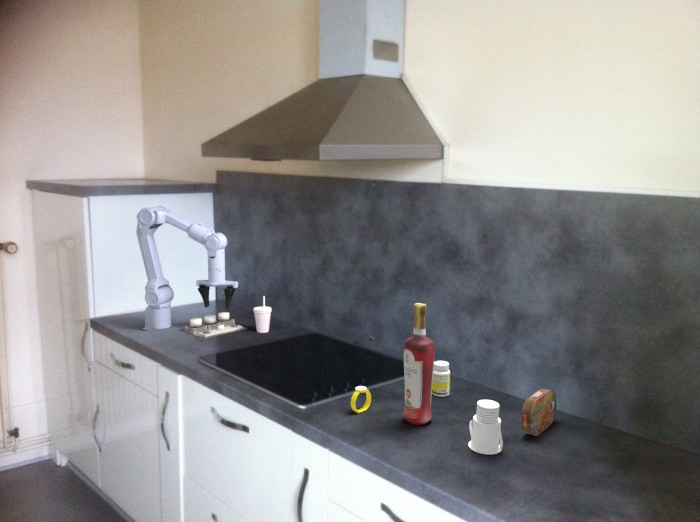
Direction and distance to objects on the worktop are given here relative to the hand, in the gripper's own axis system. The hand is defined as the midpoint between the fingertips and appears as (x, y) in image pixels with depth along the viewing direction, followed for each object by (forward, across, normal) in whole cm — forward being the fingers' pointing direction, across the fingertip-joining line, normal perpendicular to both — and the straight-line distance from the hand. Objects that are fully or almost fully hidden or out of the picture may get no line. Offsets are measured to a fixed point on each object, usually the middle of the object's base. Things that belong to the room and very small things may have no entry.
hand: (217, 307), depth 224 cm
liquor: (+10, +74, -62) cm, 97 cm away
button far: (+6, -1, +8) cm, 10 cm away
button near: (+6, -7, -2) cm, 10 cm away
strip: (+8, +1, 0) cm, 8 cm away
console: (+10, -2, +2) cm, 10 cm away
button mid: (+6, -4, +3) cm, 8 cm away
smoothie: (+10, +15, +3) cm, 19 cm away
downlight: (+10, +90, -74) cm, 116 cm away
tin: (+10, +102, -61) cm, 119 cm away
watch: (+10, +60, -58) cm, 84 cm away
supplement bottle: (+10, +79, -43) cm, 90 cm away
